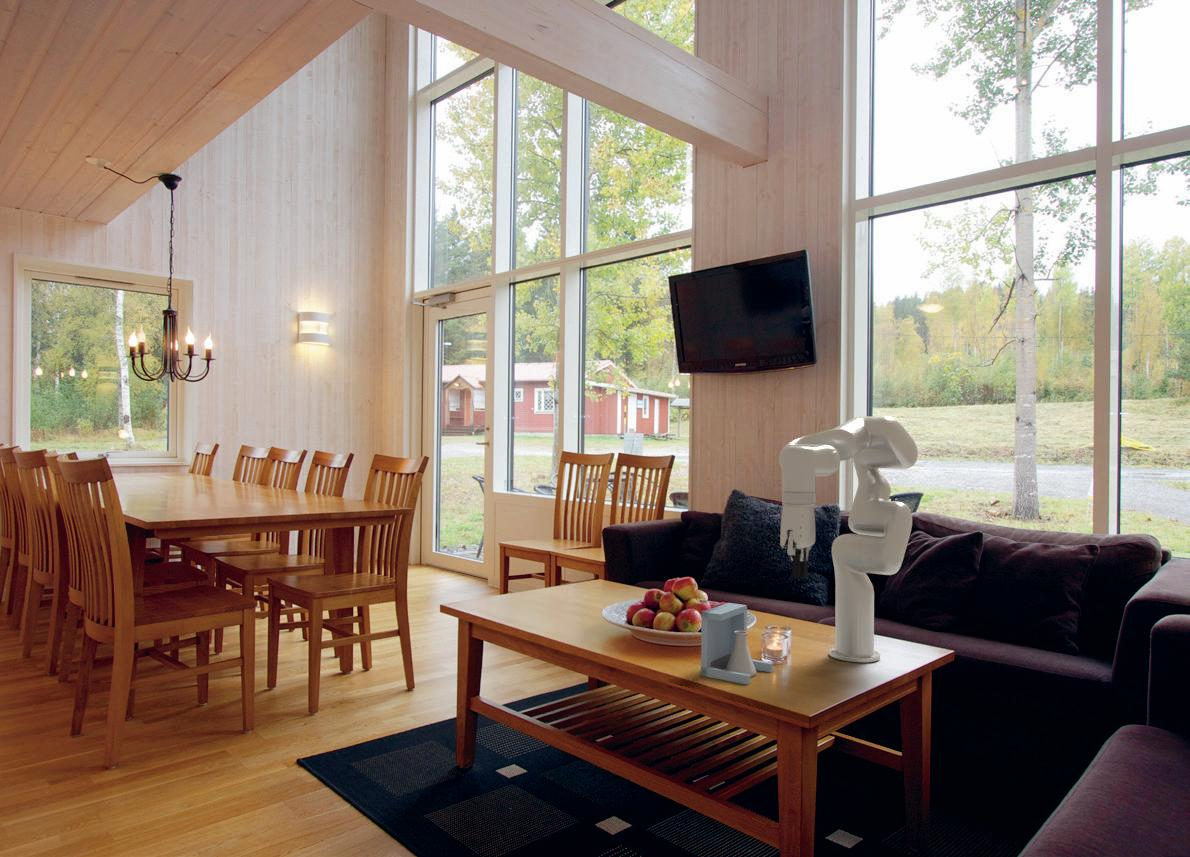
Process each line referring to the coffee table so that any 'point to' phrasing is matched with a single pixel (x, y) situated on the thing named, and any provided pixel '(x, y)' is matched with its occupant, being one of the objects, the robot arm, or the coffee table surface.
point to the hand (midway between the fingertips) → (799, 577)
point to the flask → (741, 656)
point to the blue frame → (724, 642)
